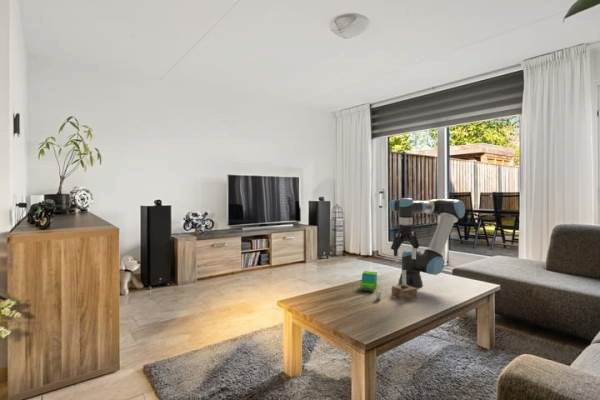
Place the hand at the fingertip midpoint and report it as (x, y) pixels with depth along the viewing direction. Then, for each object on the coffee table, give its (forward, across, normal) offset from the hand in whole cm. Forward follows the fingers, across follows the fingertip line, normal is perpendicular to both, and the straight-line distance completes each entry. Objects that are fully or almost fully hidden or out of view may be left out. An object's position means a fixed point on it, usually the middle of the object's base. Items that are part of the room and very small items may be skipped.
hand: (405, 260), depth 199 cm
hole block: (+22, 0, 0) cm, 22 cm away
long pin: (+22, 0, 0) cm, 22 cm away
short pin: (+22, -18, +3) cm, 28 cm away
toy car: (+22, -10, +21) cm, 32 cm away
